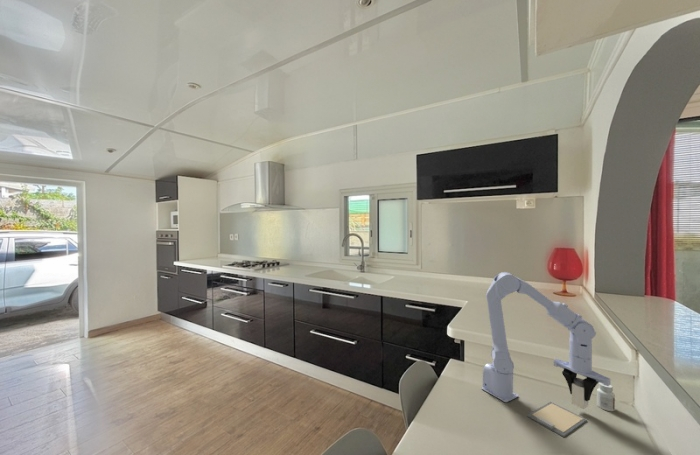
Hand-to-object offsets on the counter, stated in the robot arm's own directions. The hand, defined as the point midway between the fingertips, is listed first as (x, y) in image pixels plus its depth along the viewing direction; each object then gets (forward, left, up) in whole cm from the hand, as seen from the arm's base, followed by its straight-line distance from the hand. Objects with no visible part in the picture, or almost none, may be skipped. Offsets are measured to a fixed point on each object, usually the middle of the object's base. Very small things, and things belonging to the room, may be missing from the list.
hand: (580, 396), depth 88 cm
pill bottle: (+3, +11, -5) cm, 13 cm away
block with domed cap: (0, 0, -3) cm, 3 cm away
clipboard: (-2, -11, -5) cm, 12 cm away
